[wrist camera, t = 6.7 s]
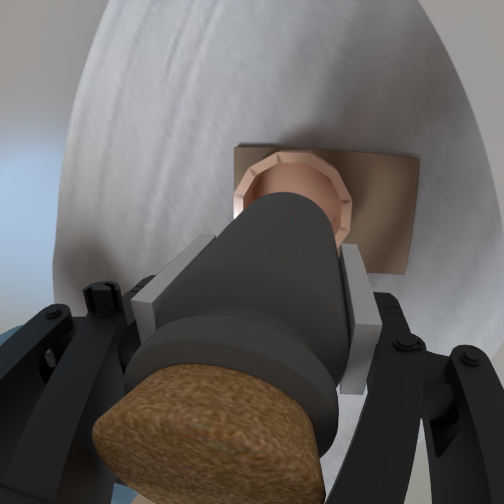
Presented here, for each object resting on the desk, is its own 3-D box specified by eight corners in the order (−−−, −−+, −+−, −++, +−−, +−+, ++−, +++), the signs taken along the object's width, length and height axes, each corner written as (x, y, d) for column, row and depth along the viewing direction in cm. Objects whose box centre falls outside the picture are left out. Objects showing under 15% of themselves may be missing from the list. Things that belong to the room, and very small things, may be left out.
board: (238, 259, 34) (235, 263, 33) (236, 147, 30) (233, 147, 29) (402, 270, 31) (404, 274, 30) (416, 158, 27) (419, 158, 26)
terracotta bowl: (246, 244, 32) (234, 263, 28) (246, 149, 29) (232, 151, 24) (341, 250, 31) (345, 271, 26) (347, 153, 27) (354, 156, 23)
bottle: (272, 169, 17) (100, 315, 3) (355, 233, 17) (423, 490, 4) (217, 247, 19) (55, 447, 6) (293, 302, 20) (242, 545, 6)
